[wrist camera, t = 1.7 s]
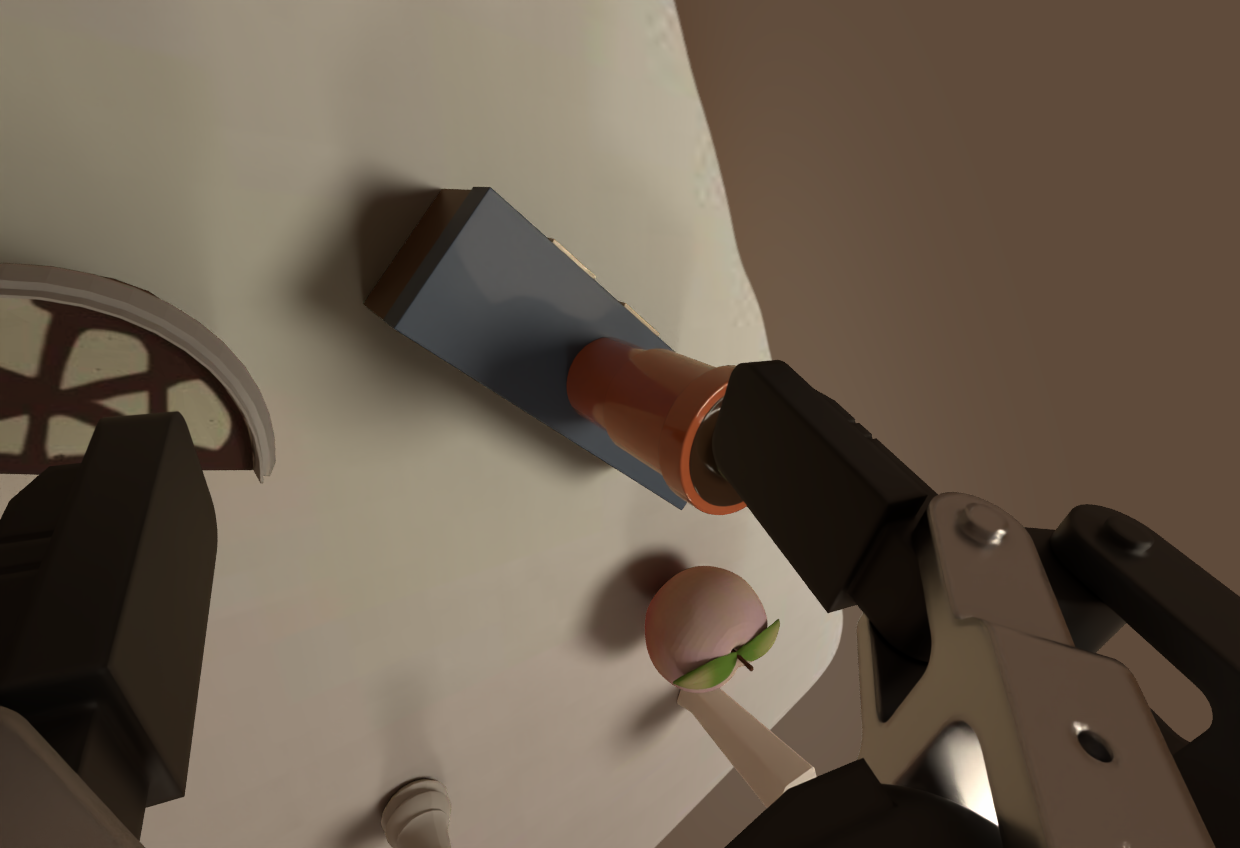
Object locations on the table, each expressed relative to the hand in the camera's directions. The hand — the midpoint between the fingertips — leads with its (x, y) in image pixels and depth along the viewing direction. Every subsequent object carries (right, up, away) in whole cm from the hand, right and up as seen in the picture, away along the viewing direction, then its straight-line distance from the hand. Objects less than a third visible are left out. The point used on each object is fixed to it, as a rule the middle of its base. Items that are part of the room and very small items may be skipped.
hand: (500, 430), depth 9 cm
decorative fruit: (+5, -13, +40) cm, 42 cm away
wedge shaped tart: (-20, +4, +16) cm, 26 cm away
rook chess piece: (-12, -26, +33) cm, 43 cm away
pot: (+1, +2, +22) cm, 22 cm away
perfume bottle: (+8, -24, +46) cm, 53 cm away
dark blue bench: (-3, +4, +27) cm, 28 cm away
